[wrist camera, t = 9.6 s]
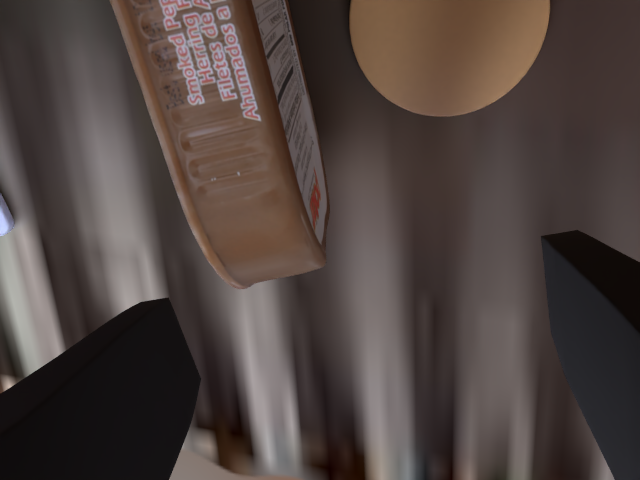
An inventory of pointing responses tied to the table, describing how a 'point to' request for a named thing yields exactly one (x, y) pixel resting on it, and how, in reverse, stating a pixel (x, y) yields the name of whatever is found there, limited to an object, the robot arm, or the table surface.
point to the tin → (234, 130)
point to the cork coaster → (446, 50)
